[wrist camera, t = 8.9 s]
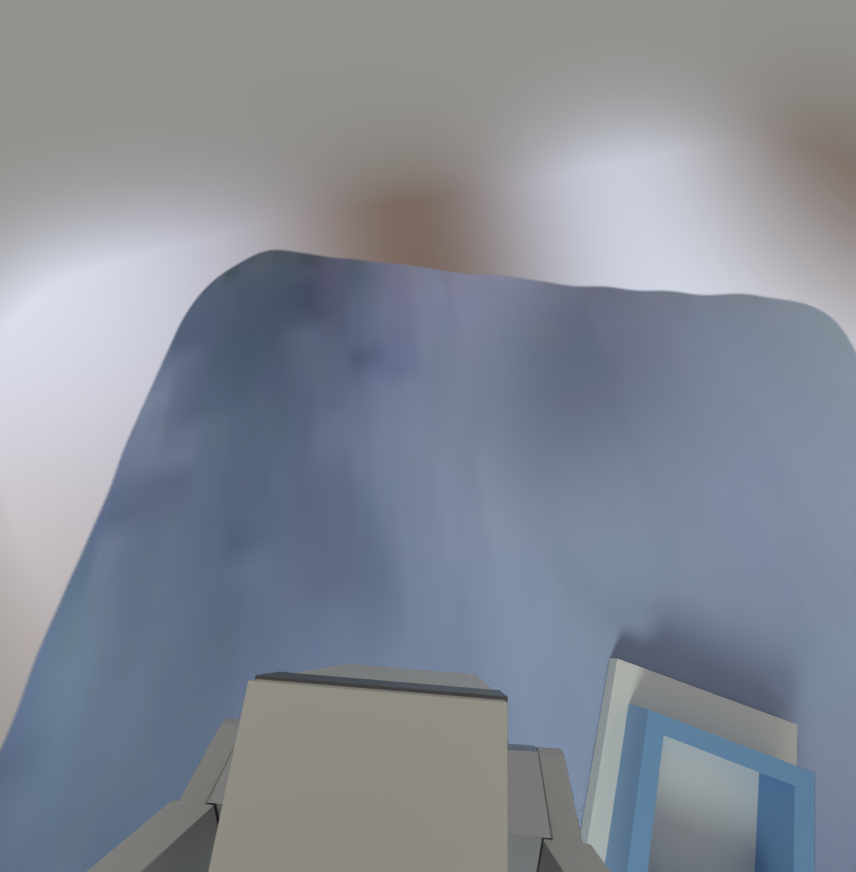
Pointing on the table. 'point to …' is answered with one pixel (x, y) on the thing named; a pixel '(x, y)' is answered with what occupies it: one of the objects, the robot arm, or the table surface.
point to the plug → (367, 774)
